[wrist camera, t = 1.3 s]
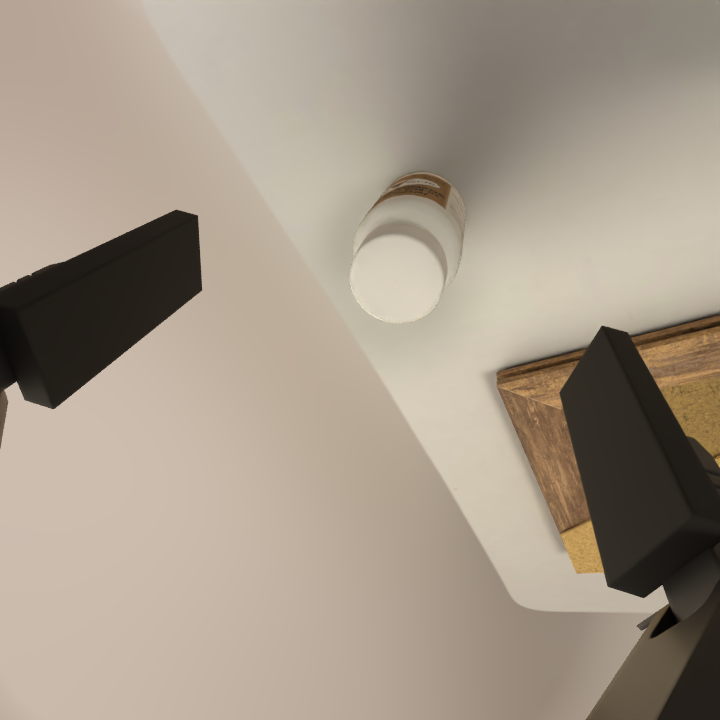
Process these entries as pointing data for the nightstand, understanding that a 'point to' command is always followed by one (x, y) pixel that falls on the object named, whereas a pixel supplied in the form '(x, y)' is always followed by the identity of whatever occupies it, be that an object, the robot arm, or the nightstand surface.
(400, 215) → the pill bottle
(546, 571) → the nightstand surface
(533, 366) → the picture frame
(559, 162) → the nightstand surface
